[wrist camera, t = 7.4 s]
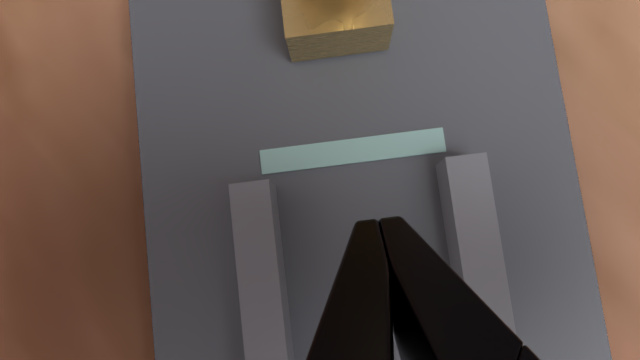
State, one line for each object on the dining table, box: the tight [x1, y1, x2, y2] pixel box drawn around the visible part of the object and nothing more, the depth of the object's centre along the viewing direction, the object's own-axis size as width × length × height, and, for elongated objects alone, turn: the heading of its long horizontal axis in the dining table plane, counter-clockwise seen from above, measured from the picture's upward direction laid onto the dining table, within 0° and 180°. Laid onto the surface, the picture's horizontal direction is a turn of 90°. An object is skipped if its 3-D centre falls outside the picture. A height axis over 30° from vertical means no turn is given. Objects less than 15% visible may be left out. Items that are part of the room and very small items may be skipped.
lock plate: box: [129, 0, 612, 360], centre depth 16 cm, size 19×14×4 cm
